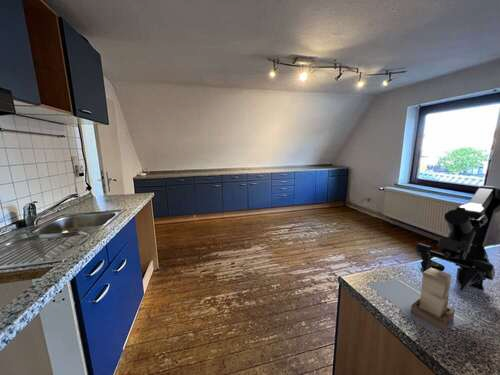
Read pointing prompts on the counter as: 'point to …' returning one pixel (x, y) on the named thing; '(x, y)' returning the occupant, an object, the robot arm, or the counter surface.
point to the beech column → (435, 291)
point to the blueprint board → (412, 301)
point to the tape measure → (435, 266)
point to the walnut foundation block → (432, 315)
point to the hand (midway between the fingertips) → (441, 282)
